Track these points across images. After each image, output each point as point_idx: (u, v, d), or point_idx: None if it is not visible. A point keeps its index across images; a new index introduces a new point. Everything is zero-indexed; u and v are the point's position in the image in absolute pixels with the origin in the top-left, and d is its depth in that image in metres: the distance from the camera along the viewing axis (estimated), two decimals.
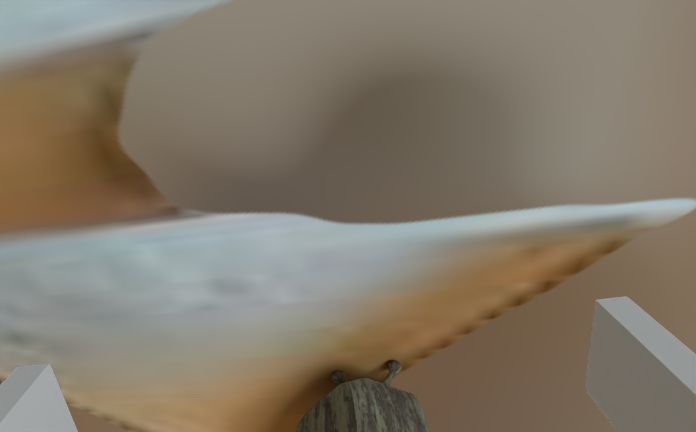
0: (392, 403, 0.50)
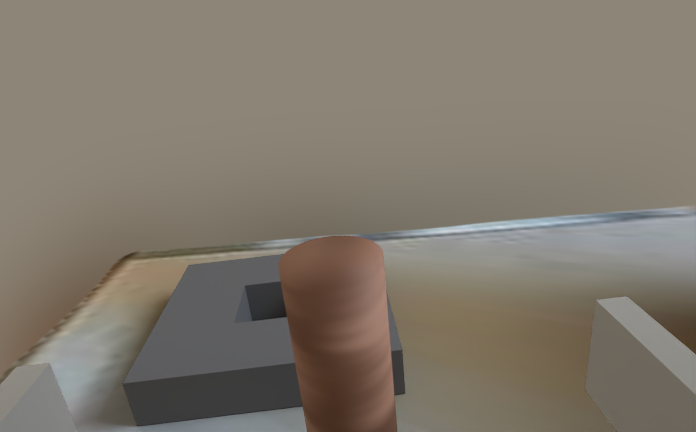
0: None
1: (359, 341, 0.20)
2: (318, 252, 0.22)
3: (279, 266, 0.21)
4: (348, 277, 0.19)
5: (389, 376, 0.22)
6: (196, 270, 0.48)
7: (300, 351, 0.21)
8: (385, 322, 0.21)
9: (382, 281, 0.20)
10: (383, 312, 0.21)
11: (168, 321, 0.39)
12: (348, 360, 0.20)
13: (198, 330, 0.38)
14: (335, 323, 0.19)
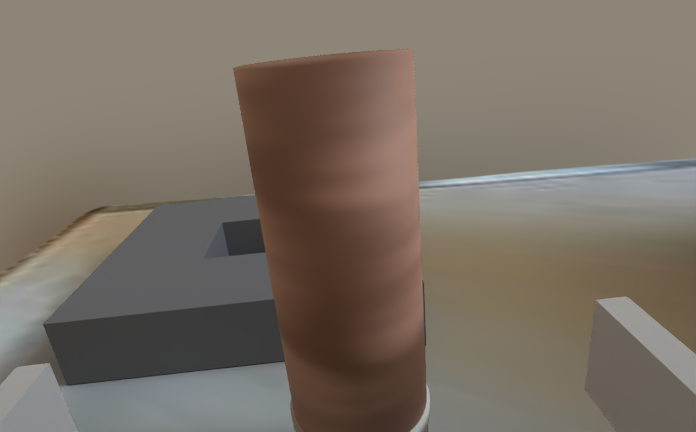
0: None
1: (371, 188, 0.11)
2: (304, 59, 0.13)
3: (235, 67, 0.12)
4: (354, 59, 0.11)
5: (418, 272, 0.14)
6: (165, 210, 0.39)
7: (270, 216, 0.12)
8: (415, 172, 0.13)
9: (412, 91, 0.12)
10: (412, 149, 0.12)
11: (120, 258, 0.31)
12: (353, 223, 0.12)
13: (156, 266, 0.29)
14: (330, 148, 0.11)
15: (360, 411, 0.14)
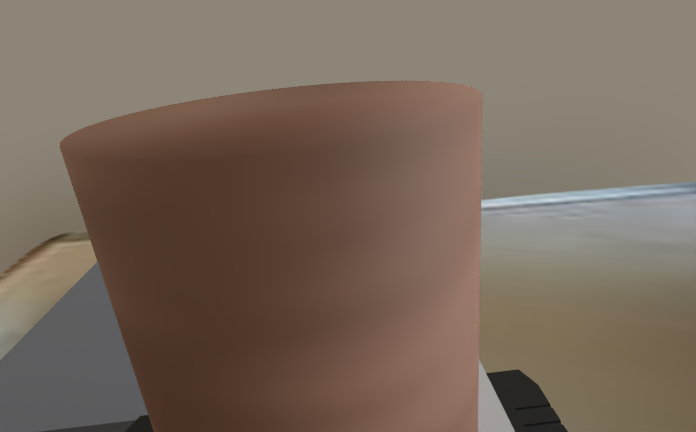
0: None
1: (388, 431, 0.05)
2: (244, 104, 0.06)
3: (80, 131, 0.05)
4: (346, 132, 0.04)
5: None
6: None
7: None
8: (477, 346, 0.06)
9: (480, 187, 0.05)
10: (475, 309, 0.06)
11: (52, 326, 0.24)
12: None
13: (93, 342, 0.22)
14: (284, 362, 0.04)
15: None
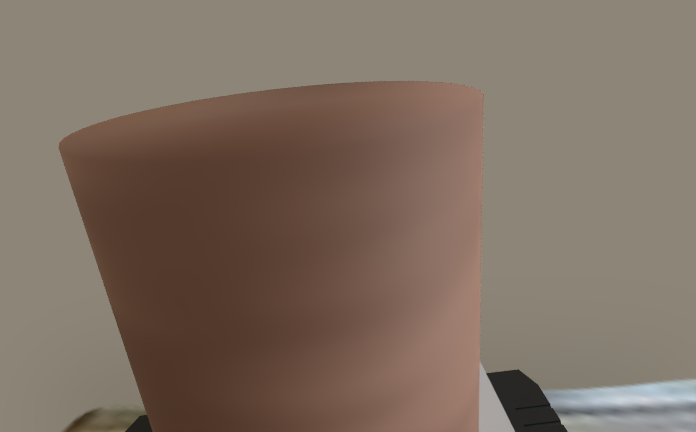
0: None
1: None
2: (244, 104, 0.06)
3: (79, 131, 0.05)
4: (346, 132, 0.04)
5: None
6: None
7: None
8: (478, 348, 0.06)
9: (481, 187, 0.05)
10: (476, 311, 0.06)
11: None
12: None
13: None
14: (284, 364, 0.04)
15: None
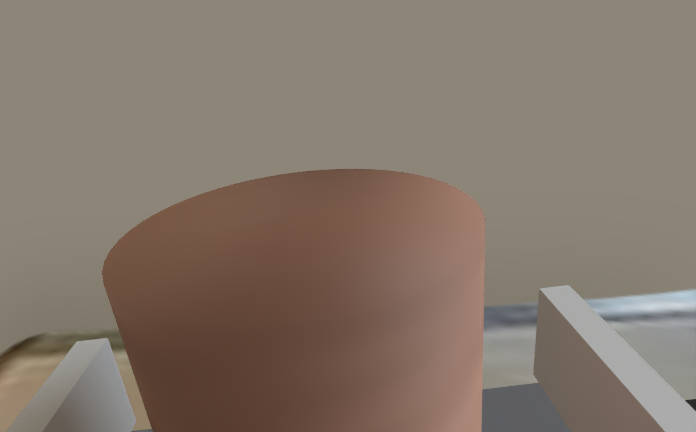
0: None
1: None
2: (263, 207, 0.07)
3: (115, 248, 0.06)
4: (364, 289, 0.04)
5: None
6: None
7: None
8: None
9: (482, 304, 0.06)
10: (478, 410, 0.06)
11: None
12: None
13: None
14: None
15: None
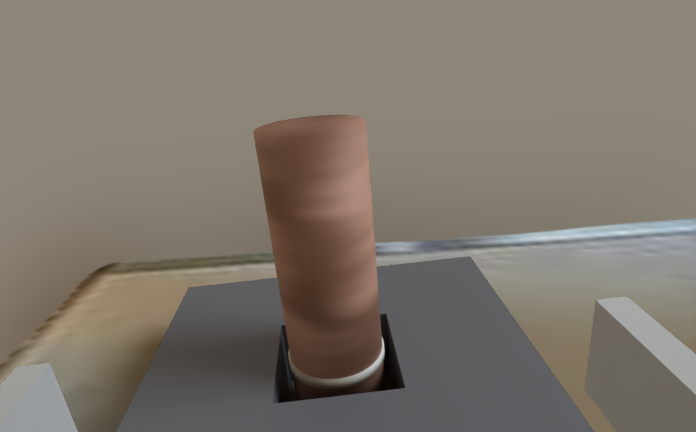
0: None
1: (338, 207, 0.19)
2: (297, 123, 0.20)
3: (254, 131, 0.19)
4: (327, 132, 0.18)
5: (372, 260, 0.21)
6: (200, 296, 0.31)
7: (276, 224, 0.20)
8: (367, 196, 0.20)
9: (364, 147, 0.19)
10: (365, 182, 0.20)
11: (154, 395, 0.22)
12: (327, 229, 0.19)
13: (208, 417, 0.21)
14: (313, 184, 0.18)
15: (334, 351, 0.21)
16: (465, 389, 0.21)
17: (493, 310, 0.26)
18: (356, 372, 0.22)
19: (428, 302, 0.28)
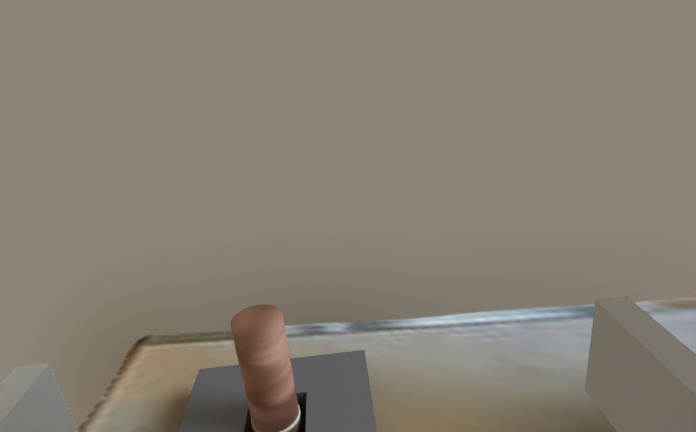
0: None
1: (268, 360, 0.42)
2: (251, 315, 0.43)
3: (231, 323, 0.42)
4: (261, 330, 0.41)
5: (288, 377, 0.44)
6: (206, 376, 0.54)
7: (241, 364, 0.43)
8: (284, 350, 0.43)
9: (280, 331, 0.42)
10: (282, 345, 0.43)
11: None
12: (263, 369, 0.42)
13: None
14: (256, 352, 0.41)
15: (270, 420, 0.44)
16: None
17: (362, 391, 0.49)
18: (282, 429, 0.45)
19: (330, 384, 0.51)
